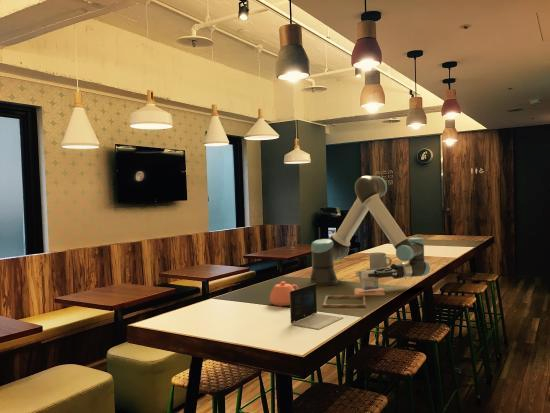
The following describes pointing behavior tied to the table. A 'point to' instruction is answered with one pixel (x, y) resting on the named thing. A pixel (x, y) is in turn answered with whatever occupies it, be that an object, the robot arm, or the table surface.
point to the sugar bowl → (281, 294)
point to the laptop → (308, 309)
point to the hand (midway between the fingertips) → (359, 275)
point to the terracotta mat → (369, 291)
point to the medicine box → (368, 281)
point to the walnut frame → (343, 304)
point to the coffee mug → (379, 260)
